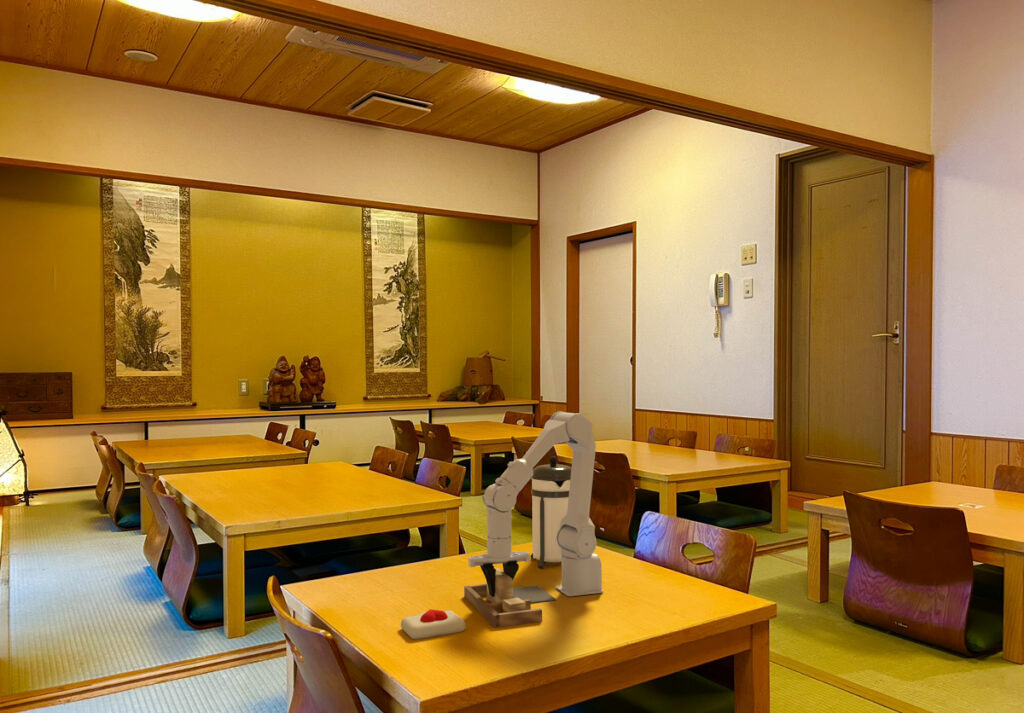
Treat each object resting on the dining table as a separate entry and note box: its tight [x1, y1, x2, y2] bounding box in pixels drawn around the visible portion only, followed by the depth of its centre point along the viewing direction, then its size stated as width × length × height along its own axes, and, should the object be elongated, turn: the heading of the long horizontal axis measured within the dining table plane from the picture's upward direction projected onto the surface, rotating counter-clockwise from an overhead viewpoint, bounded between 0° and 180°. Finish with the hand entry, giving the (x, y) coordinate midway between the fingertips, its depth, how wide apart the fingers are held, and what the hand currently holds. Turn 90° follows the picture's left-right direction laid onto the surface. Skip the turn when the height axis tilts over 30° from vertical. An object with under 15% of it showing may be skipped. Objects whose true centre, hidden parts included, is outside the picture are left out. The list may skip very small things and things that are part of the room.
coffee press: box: [530, 455, 572, 569], centre depth 217 cm, size 17×16×30 cm
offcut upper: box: [502, 598, 526, 612], centre depth 170 cm, size 4×4×2 cm
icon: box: [400, 609, 466, 640], centre depth 163 cm, size 12×4×10 cm
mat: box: [513, 584, 557, 604], centre depth 186 cm, size 9×12×1 cm
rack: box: [463, 583, 543, 628], centre depth 176 cm, size 11×23×2 cm, turn 20°
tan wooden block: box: [486, 567, 514, 604], centre depth 179 cm, size 3×10×7 cm, turn 20°
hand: (499, 594), depth 179 cm, fingers closed on tan wooden block, 3 cm apart
